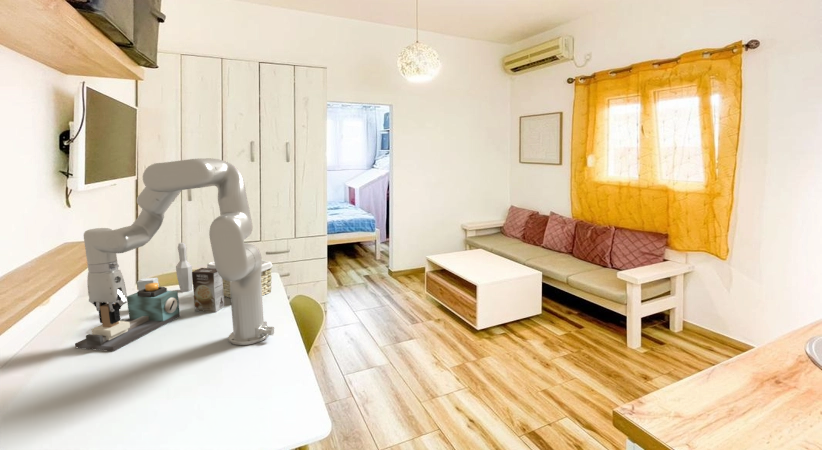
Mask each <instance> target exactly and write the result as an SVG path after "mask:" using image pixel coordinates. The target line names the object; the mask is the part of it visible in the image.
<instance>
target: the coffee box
mask: <svg viewBox="0 0 822 450" xmlns="http://www.w3.org/2000/svg"><path fill="white" fill-rule="evenodd" d="M192 291H193V302H194V311H195V312H209V313H217V312H219V311H220V310H222V309H223V308H224V307H225V296H224V294H223V280H222V277H221V276H220V275H219V274H218V272H217V270H216V268H207V267H200V268H198V269H195V270H194V271H193V270H192Z"/></svg>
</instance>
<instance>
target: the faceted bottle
mask: <svg viewBox="0 0 822 450" xmlns="http://www.w3.org/2000/svg"><path fill="white" fill-rule="evenodd" d="M177 244H178V245H177V251H178V257H179V261H178V263H177V265H176V266H175V272H176V278H177V281H178V286H179V290H180V293H186V292H191V291H193V280H192V272H193V266H192V264H191V263H190V262H189V261H188V258H187V257H188V256H187V245H186V243H185V242H179V243H177Z"/></svg>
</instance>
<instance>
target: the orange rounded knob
mask: <svg viewBox="0 0 822 450" xmlns="http://www.w3.org/2000/svg"><path fill="white" fill-rule="evenodd" d="M158 283H159V282H158ZM158 283H149V284H146V285H145V290H146V291H155V290H158V289H159V288H158Z"/></svg>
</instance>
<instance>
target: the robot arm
mask: <svg viewBox="0 0 822 450" xmlns="http://www.w3.org/2000/svg"><path fill="white" fill-rule="evenodd" d="M142 182H143V184H144V186H145V187H144V188H143V189H142V190H141V192H140V193H139V195H138V196H137V197H136V203H137V205H138V206H139V207H140V208H141V211H140V213H139V215H138V216H137V218H136V219H135V220H134V222H133V223H132V224H131V225H128V226H123V227H120V228H116V229H112V228H108V227H98V228H90V229H88V230H85V231H84V232H83V241H84V242H83V243H84V248H85V249H84V251H85V257H86V263H87V281H86V282H87V294H88V302H89V303H91V304H92V305H93V306H94V308H96V311H97V312H98V318H99V323H100V324H102V318H101V310H100V306H102V305H105V304H107V303H109V307H110V311H111V312H109V317H110V323H111V324H113V323H116V322H118V321H121V314H120V309H121V308H122V306H123V305H125V304H128V303H127V296H128V294H127V289H126V283H125V280H124V275H123V272H122V271H121V269H119V267H120V265H119V264H118V258H117V257H118V256H117V254H124V253H126V252H130V251H132V250H134V249H138V248H141V247H143V246H145V245H146V244H147V243H149V242H150V241H151V239H153V237H154V236H155V234H156V233H157V232H159V231H158V230H159V229H160V228H161V226H162V224H163V221H164V218H165V213H166V211H167V210H168V208H170V206H171V205H172V204H173V202H174V201H175V200H176V199H177V197H178V196H179V195H180V193H181V192H183V191H184V190H192V189H194V190H195V189H203V188H207V187H216V188H217V203H218V208H219V213H220V215H218V216H217V217H216V218H214V219H213V220H212V222H211V224H210V225H209V230H208V231H209V233H208V234H209V241H210V247H211V252H212V257H213V262H215V267H216V270H217V272H218V274H219V275H220V276H221V277H222V278H223V279H224V280H227V281H230V296H231V298H230V306H231V308H230V309H231V318H232V331H233V332H231V333H230V334H229V335H228V342H229V343H230V344H231V345H232V344H233V345H237V346H246V345H252V344H257V343H260V342H262V341H264V340H266V339H268V337H269V336H274V334H275V327H274V326H268V323H267V321H265V319H264V307H263V296H262V286H261V268H262V260H263V259H262V258H263V257H262V254H261V252H260V250H259V248H258V247H257V246H255V245H254V244H252V243H247V242H246V243H245V240H246V239H247V238H248V237H250V235H251V234H252V232H253V228H254V226H253V222H252V216H251V212H250V207H249V201H248V195H247V191H246V184H245V180H244V177H243V175H242V173H241V171H240V170H239V169H238V168H237V167H236V166H235V165H234V164H232V163H230V162H228V161H226V160H223V159H219V158H190V159H182V160H174V161H167V162H157V163H156V162H155V163H153V164H150V165H148V166H147V167H146V169H144V171H143V173H142ZM114 303H115V305H114Z"/></svg>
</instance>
